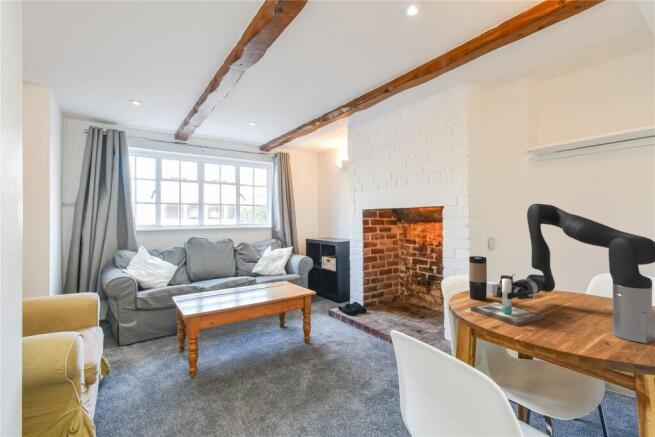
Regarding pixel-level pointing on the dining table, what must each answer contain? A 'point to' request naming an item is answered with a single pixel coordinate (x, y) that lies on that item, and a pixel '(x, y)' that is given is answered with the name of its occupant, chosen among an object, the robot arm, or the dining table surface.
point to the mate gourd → (506, 278)
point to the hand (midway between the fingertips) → (503, 295)
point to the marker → (506, 302)
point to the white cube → (492, 288)
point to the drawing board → (507, 314)
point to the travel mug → (478, 277)
